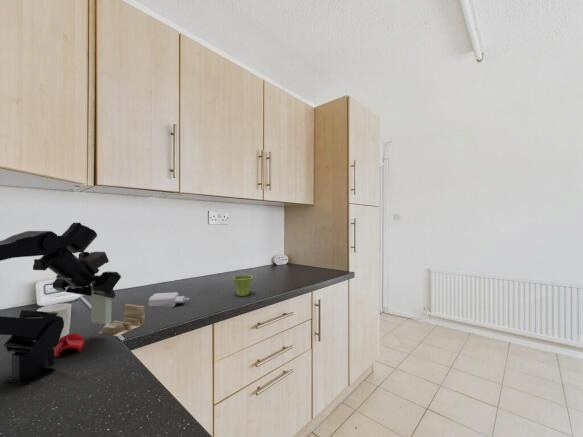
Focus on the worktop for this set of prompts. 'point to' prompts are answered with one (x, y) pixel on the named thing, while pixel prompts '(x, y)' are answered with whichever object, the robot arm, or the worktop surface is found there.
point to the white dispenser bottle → (166, 299)
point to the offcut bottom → (113, 331)
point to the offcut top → (113, 326)
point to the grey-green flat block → (100, 308)
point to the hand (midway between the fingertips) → (105, 296)
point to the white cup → (63, 312)
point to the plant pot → (242, 284)
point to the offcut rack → (131, 318)
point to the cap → (69, 343)
